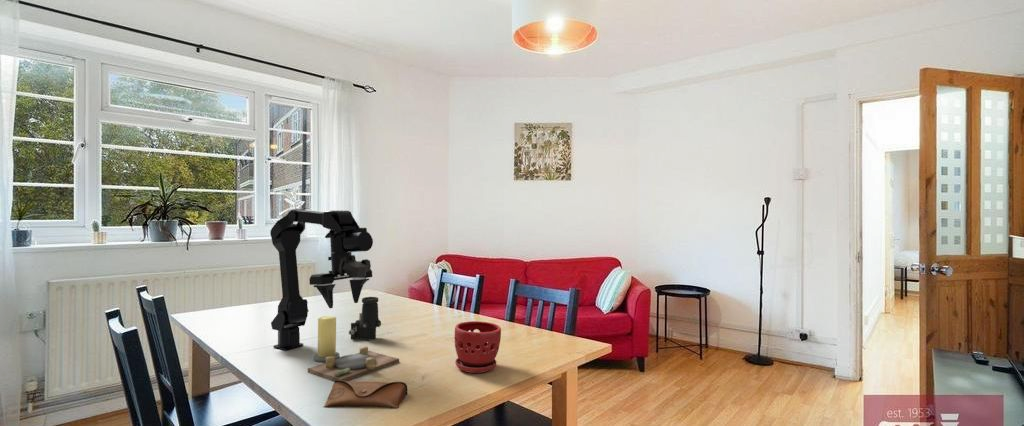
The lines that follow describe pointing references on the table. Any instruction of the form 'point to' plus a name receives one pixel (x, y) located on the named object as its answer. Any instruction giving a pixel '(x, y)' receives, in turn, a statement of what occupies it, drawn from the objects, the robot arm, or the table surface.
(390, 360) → the board
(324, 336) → the yellow pillar candle
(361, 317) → the scope
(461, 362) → the plant pot
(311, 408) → the table surface
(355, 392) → the sunglasses case
